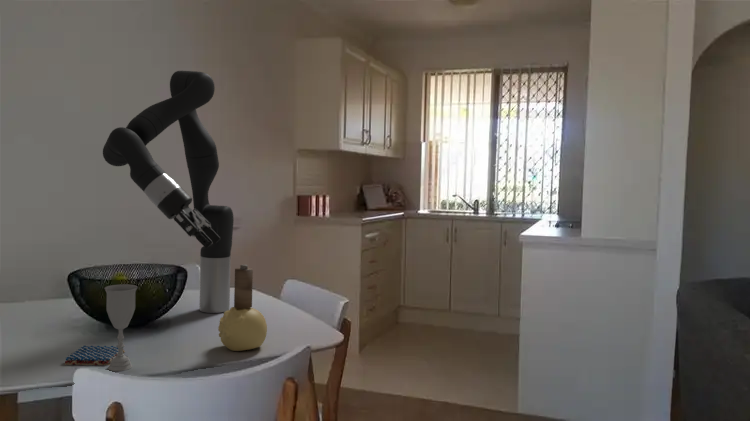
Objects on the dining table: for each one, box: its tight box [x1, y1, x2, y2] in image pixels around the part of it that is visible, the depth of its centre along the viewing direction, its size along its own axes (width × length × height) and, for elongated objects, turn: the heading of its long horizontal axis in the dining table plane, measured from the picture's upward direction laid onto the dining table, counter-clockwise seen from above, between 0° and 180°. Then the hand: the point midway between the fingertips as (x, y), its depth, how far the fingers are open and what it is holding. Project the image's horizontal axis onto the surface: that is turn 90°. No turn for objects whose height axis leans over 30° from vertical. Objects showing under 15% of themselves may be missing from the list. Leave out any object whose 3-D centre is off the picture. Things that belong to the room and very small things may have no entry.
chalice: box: [104, 283, 138, 372], centre depth 132 cm, size 7×7×18 cm
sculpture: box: [217, 306, 268, 352], centre depth 150 cm, size 12×12×11 cm
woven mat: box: [64, 345, 126, 366], centre depth 139 cm, size 10×11×2 cm
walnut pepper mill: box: [233, 264, 254, 309], centre depth 150 cm, size 4×4×10 cm
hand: (213, 243), depth 149 cm, fingers open, 8 cm apart
